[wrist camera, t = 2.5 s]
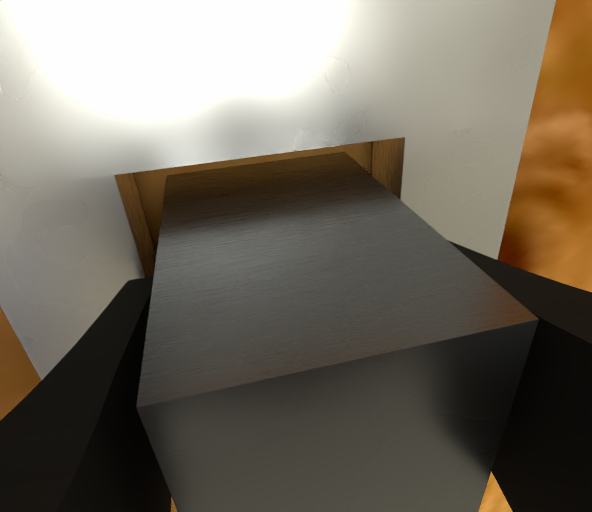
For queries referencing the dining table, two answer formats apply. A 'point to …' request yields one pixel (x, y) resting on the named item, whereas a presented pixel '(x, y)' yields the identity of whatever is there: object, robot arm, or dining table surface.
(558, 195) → the dining table surface
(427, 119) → the rail plate
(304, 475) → the post
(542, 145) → the dining table surface
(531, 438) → the robot arm
